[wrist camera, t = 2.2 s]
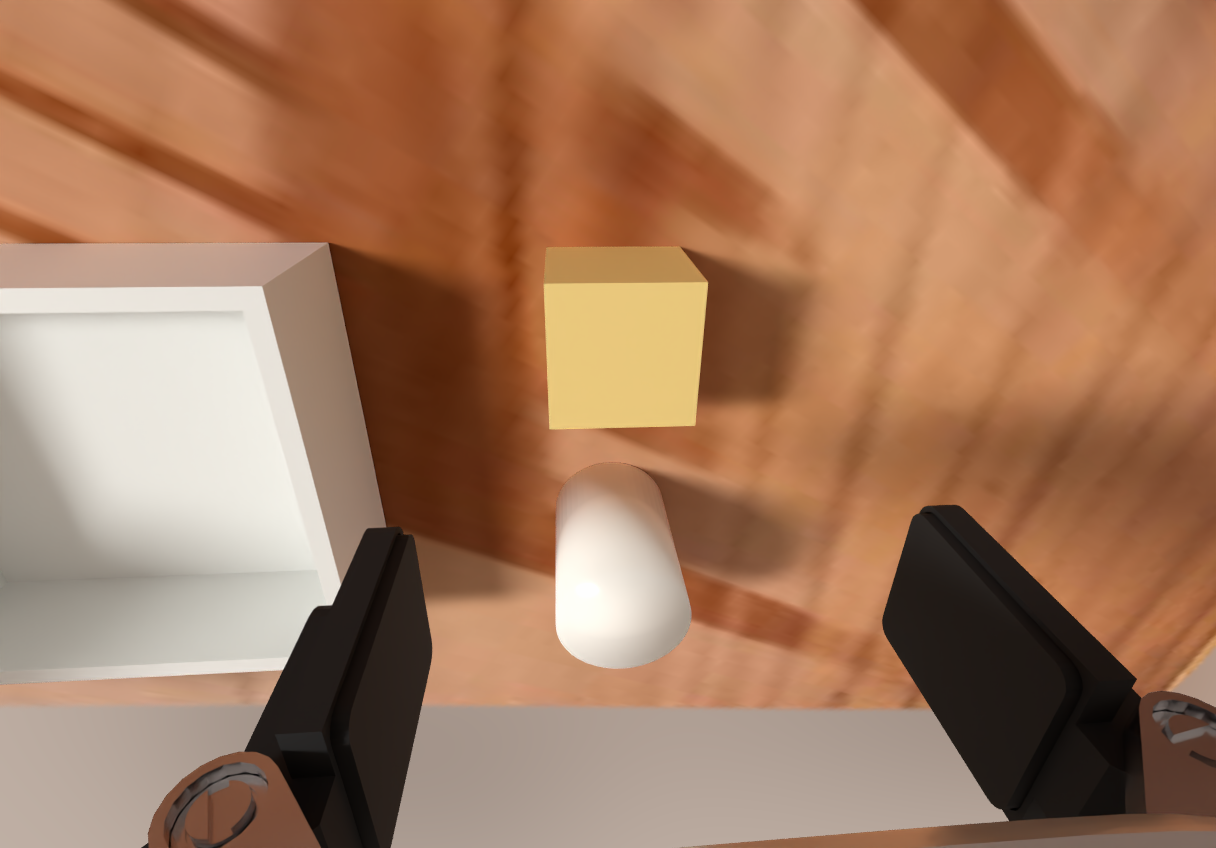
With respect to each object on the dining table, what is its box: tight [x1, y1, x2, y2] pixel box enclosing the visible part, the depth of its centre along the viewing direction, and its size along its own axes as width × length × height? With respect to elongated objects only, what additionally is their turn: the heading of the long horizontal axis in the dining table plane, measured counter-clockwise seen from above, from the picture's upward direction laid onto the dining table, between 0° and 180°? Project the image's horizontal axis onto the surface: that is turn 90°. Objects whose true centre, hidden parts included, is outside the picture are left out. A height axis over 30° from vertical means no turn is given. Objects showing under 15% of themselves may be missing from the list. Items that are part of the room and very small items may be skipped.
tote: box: [0, 243, 386, 685], centre depth 22 cm, size 17×15×6 cm
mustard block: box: [544, 246, 708, 429], centre depth 22 cm, size 5×5×5 cm
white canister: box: [556, 462, 691, 669], centre depth 25 cm, size 5×5×7 cm
